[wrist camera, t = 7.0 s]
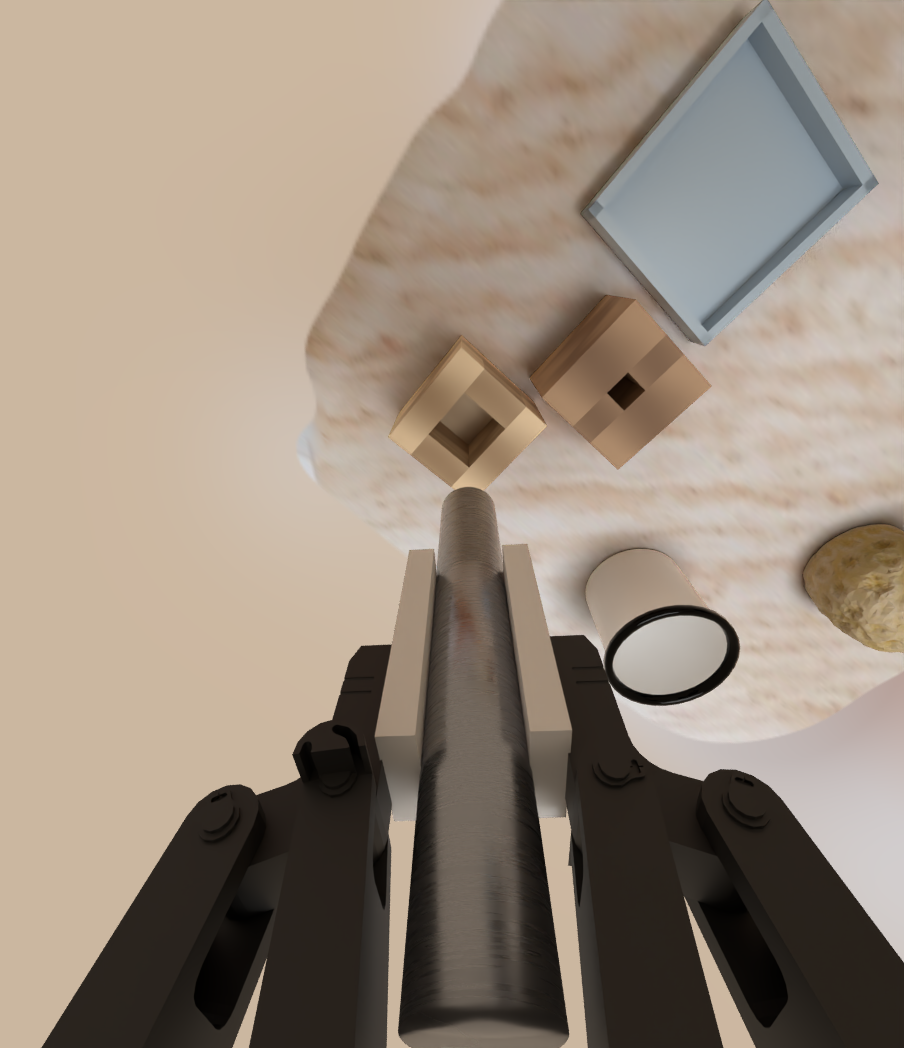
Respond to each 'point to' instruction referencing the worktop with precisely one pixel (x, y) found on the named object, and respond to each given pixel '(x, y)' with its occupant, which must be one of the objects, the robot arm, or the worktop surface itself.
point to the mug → (658, 630)
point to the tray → (731, 181)
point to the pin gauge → (477, 821)
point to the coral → (862, 585)
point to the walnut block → (618, 379)
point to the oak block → (467, 420)
